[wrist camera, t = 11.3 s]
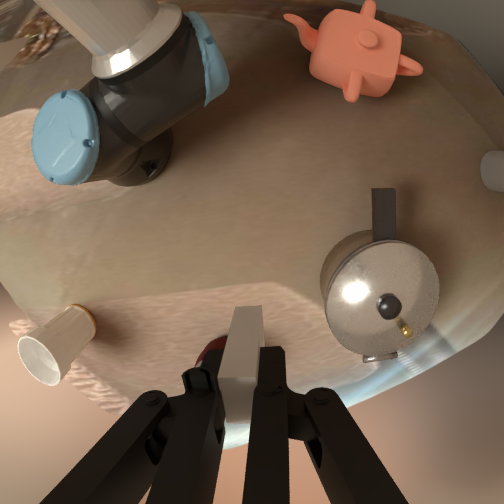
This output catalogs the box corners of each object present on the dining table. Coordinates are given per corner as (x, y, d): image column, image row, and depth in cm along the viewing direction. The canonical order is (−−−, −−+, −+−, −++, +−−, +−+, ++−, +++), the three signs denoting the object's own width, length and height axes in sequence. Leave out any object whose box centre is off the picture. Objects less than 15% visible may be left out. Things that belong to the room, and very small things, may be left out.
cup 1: (60, 292, 60) (13, 327, 43) (101, 308, 60) (57, 350, 43) (62, 333, 63) (22, 371, 46) (100, 350, 63) (63, 394, 46)
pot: (312, 187, 51) (321, 192, 41) (415, 183, 49) (442, 188, 40) (317, 334, 58) (324, 364, 49) (407, 323, 57) (426, 349, 47)
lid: (325, 245, 43) (328, 251, 40) (441, 237, 41) (450, 242, 38) (324, 364, 48) (327, 375, 45) (426, 349, 47) (433, 358, 44)
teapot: (404, 84, 44) (437, 65, 32) (335, 121, 48) (356, 108, 35) (350, 12, 41) (369, -22, 29) (280, 45, 44) (282, 12, 32)
